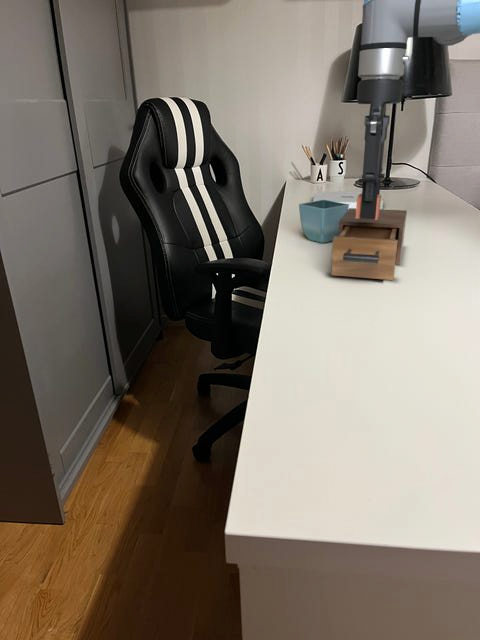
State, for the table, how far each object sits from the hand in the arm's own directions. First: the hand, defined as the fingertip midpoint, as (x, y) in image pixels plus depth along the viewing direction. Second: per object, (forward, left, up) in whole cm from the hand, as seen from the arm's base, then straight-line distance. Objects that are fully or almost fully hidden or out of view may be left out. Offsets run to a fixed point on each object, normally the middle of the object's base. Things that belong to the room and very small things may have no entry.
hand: (369, 215), depth 95 cm
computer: (+14, -74, -12) cm, 76 cm away
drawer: (0, +2, -11) cm, 11 cm away
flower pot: (+13, -24, -12) cm, 30 cm away
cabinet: (0, -12, -11) cm, 17 cm away
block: (0, 0, 0) cm, 0 cm away
